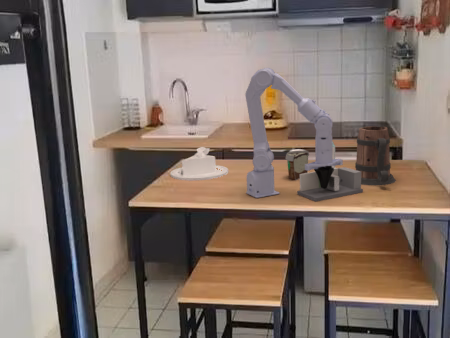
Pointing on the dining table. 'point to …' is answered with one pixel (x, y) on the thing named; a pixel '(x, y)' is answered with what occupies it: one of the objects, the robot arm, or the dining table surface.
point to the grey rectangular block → (334, 183)
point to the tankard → (374, 156)
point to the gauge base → (314, 191)
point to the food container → (296, 163)
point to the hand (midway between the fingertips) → (324, 187)
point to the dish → (199, 167)
